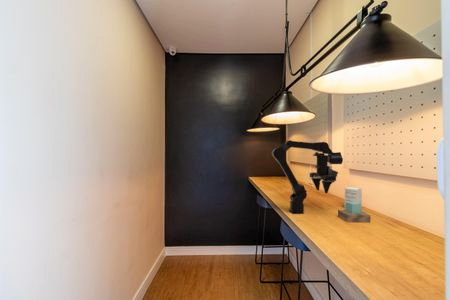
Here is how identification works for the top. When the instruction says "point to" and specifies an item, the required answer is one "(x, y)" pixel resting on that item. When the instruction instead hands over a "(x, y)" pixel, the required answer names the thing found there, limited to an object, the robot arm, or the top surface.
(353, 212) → the teal cube
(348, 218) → the walnut block
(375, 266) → the top surface
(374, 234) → the top surface
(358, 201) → the supplement box
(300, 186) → the robot arm
